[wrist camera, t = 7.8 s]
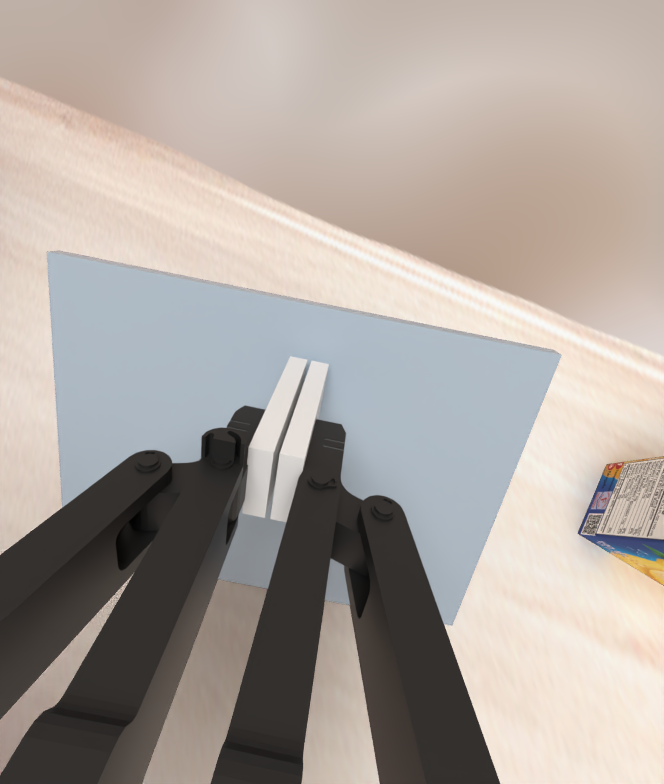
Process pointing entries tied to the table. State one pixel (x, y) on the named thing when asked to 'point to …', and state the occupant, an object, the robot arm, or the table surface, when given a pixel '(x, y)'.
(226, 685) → the table surface
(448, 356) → the lid
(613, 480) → the beverage box
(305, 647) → the robot arm
